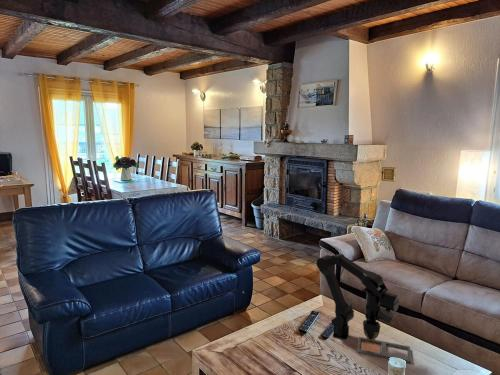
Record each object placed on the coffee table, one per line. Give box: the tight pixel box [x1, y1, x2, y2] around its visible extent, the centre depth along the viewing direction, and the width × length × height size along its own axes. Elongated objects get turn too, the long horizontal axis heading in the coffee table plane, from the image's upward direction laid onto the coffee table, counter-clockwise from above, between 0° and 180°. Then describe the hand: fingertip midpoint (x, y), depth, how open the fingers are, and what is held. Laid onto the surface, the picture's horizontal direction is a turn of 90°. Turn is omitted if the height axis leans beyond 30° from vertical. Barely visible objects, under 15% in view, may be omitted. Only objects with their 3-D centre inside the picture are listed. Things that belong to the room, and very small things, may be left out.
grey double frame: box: [356, 336, 412, 364], centre depth 158 cm, size 22×11×1 cm, turn 69°
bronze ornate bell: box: [362, 319, 382, 341], centre depth 159 cm, size 8×7×8 cm
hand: (371, 335), depth 159 cm, fingers closed on bronze ornate bell, 6 cm apart
